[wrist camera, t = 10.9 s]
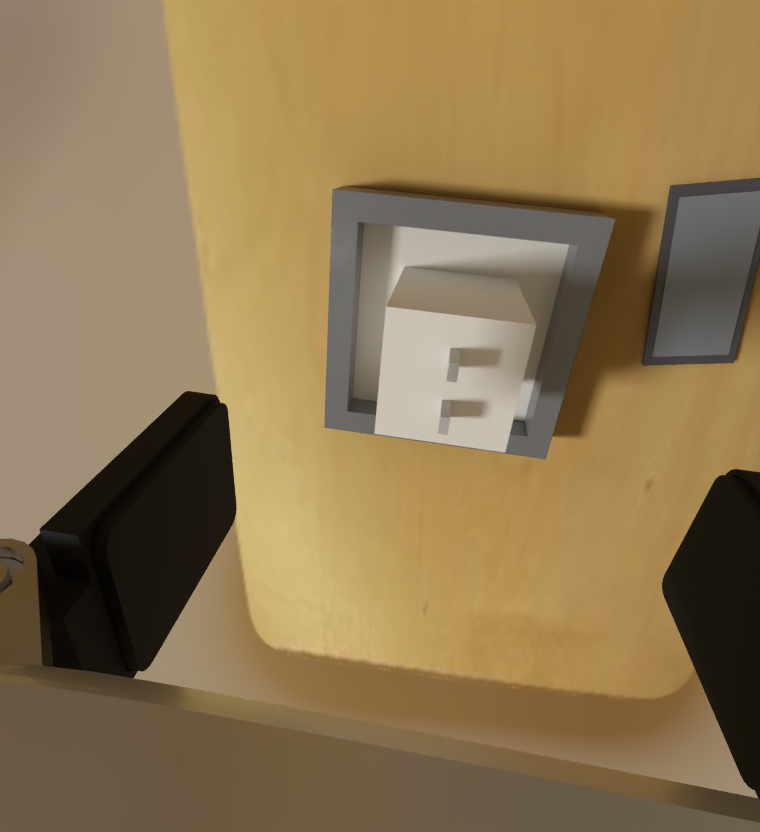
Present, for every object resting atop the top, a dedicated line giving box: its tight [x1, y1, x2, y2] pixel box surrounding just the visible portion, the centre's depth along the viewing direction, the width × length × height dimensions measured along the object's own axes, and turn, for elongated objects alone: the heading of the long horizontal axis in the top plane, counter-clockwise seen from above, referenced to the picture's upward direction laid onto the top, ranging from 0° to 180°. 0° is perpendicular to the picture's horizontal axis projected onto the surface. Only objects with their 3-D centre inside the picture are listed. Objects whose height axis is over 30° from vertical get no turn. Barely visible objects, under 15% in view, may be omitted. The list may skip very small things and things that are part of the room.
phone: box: [642, 178, 760, 365], centre depth 20 cm, size 7×4×1 cm, turn 5°
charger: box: [374, 266, 536, 453], centre depth 18 cm, size 5×4×7 cm
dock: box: [325, 186, 616, 459], centre depth 21 cm, size 10×10×2 cm
